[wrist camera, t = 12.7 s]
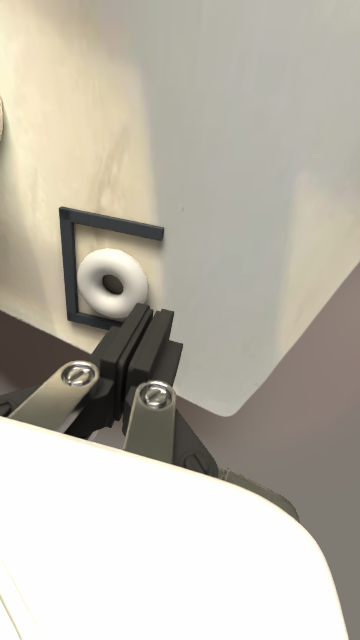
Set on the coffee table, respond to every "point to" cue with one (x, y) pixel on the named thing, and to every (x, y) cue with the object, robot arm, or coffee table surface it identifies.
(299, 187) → the coffee table surface
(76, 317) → the frame
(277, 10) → the coffee table surface
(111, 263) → the donut
